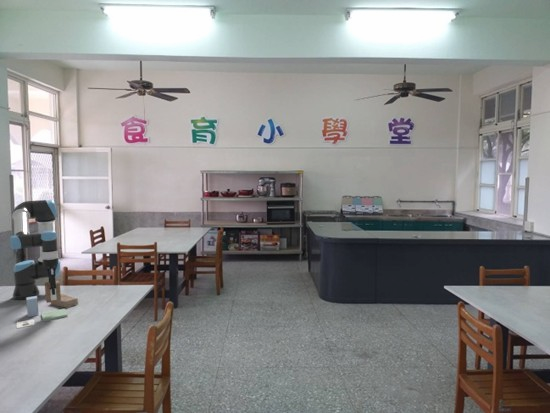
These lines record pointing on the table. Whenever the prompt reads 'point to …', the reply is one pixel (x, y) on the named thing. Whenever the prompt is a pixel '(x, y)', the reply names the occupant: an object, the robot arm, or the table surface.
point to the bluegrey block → (32, 306)
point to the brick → (66, 301)
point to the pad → (54, 314)
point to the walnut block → (48, 293)
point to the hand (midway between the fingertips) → (53, 298)
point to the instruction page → (25, 323)
